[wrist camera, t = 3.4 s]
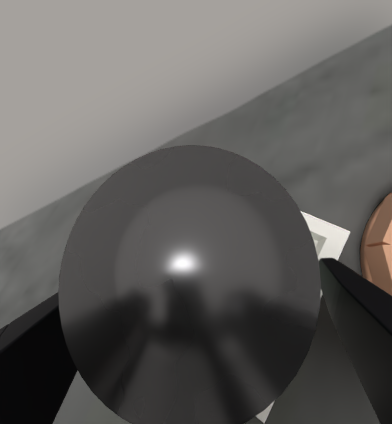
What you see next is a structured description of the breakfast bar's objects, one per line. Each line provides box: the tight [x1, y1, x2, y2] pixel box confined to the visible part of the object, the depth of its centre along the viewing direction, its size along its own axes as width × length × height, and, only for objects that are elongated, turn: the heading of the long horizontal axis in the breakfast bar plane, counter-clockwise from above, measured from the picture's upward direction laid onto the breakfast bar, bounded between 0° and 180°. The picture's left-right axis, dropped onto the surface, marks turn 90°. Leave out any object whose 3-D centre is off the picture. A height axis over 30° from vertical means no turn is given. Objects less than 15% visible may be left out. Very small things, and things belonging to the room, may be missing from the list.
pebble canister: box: [58, 145, 321, 424], centre depth 9 cm, size 6×6×11 cm
